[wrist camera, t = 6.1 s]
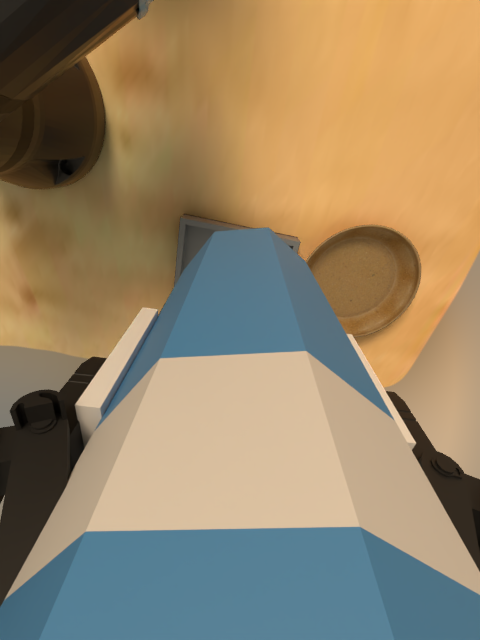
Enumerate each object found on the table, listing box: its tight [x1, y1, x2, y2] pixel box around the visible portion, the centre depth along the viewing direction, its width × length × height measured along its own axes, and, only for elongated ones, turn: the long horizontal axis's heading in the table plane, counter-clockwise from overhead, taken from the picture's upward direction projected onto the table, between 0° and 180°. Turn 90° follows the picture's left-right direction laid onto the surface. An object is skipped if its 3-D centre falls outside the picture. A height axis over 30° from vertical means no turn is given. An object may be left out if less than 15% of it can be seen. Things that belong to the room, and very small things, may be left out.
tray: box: [174, 214, 300, 287], centre depth 37 cm, size 14×14×2 cm
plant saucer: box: [306, 225, 421, 337], centre depth 37 cm, size 15×15×3 cm
